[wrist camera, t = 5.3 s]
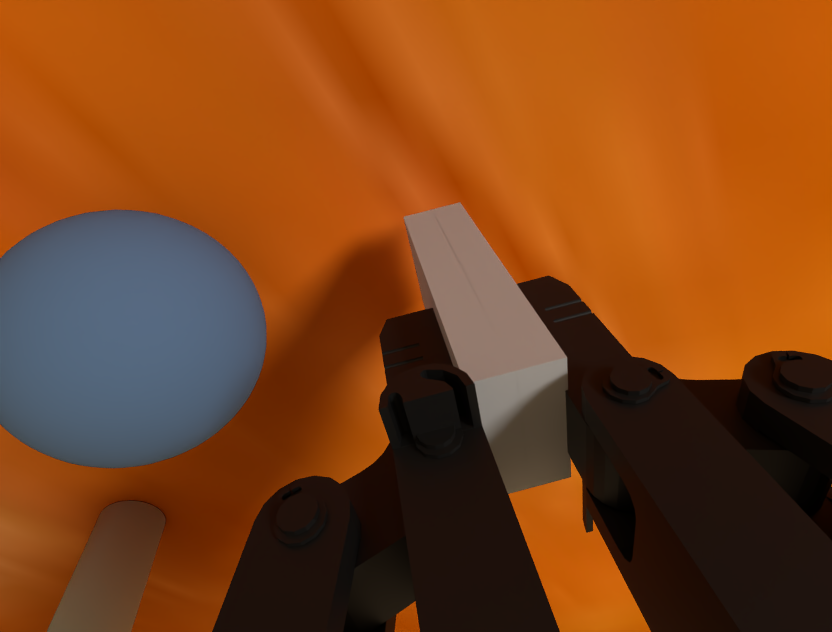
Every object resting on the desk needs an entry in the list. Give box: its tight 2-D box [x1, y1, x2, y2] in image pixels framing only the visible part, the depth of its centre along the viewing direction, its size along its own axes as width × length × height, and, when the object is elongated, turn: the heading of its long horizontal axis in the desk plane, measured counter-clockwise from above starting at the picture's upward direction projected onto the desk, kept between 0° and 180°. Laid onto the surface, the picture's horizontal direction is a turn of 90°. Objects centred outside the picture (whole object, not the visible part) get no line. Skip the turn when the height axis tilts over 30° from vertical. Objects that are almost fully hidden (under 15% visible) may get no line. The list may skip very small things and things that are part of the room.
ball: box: [0, 210, 266, 468], centre depth 11 cm, size 6×6×6 cm
